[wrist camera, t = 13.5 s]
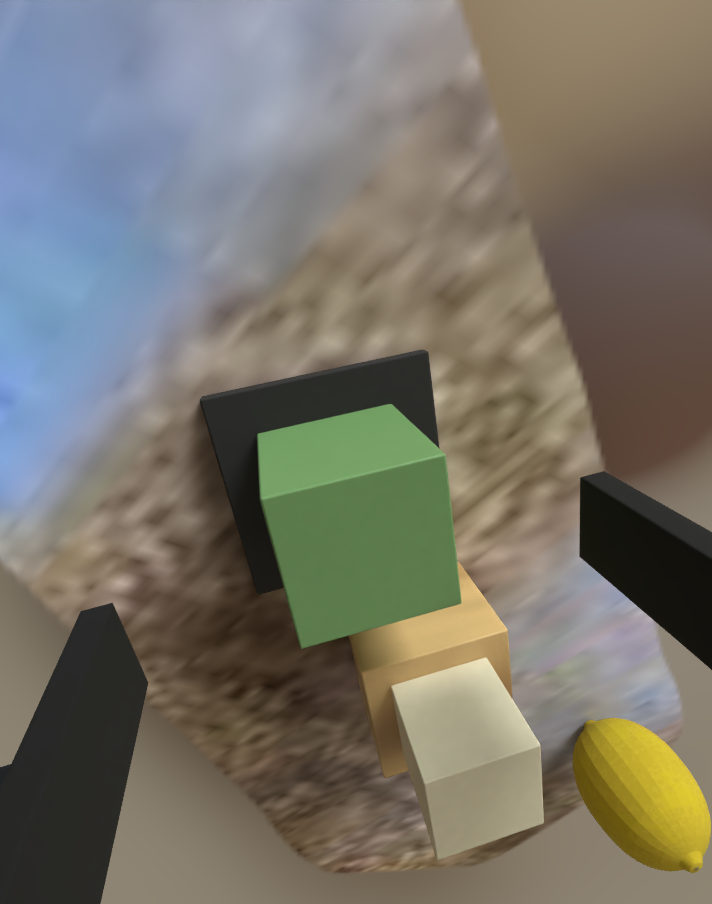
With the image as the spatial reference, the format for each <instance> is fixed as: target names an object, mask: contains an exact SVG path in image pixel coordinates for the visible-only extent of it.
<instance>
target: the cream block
mask: <svg viewBox="0 0 712 904" xmlns="http://www.w3.org/2000/svg"><path fill="white" fill-rule="evenodd" d="M391 691H392V697H393V702H394V707H395V712H396V717H397V723H398V728H399V733H400V738H401V743H402V749H403V754H404V758H405V761H406V764H407V767H408V770H409V774H410V777H411V780H412V783H413V786H414V789H415V792H416V796H417V799H418V802H419V805H420V808H421V811H422V814H423V817H424V821H425V824H426V827H427V830H428V833H429V836H430V839H431V842H432V846H433V849H434V852H435V855H436V858H437V860H440V859H443V858H446V857H449V856H452V855H455V854H457V853H460V852H463V851H466V850H469V849H472V848H475V847H477V846H480V845H483V844H486V843H489V842H492V841H494V840H497V839H500V838H503V837H506V836H509V835H512V834H514V833H517V832H520V831H523V830H526V829H529V828H531V827H534V826H537V825H540V824H543V823H544V816H543V793H542V769H541V746H540V743H539V742H538V740H537V739H536V737H535V735H534V734H533V732H532V730H531V729H530V727H529V726H528V724H527V722H526V721H525V719H524V717H523V716H522V714H521V713H520V711H519V709H518V708H517V706H516V704H515V703H514V701H513V700H512V698H511V696H510V695H509V693H508V691H507V690H506V688H505V687H504V685H503V683H502V682H501V680H500V678H499V677H498V675H497V674H496V672H495V670H494V669H493V667H492V665H491V664H490V662H489V661H488V659H487V658H486V657H485V658H482V659H478V660H475V661H472V662H468V663H465V664H462V665H458V666H455V667H452V668H448V669H445V670H442V671H438V672H435V673H432V674H428V675H425V676H422V677H418V678H415V679H412V680H408V681H405V682H402V683H398V684H395V685H392V686H391Z"/></svg>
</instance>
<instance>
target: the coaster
mask: <svg viewBox="0 0 712 904" xmlns="http://www.w3.org/2000/svg"><path fill="white" fill-rule="evenodd" d="M200 403H201V407H202V410H203V413H204V417H205V420H206V423H207V427H208V430H209V433H210V437H211V440H212V443H213V447H214V450H215V453H216V457H217V460H218V464H219V467H220V470H221V474H222V477H223V480H224V484H225V487H226V490H227V494H228V497H229V500H230V504H231V507H232V510H233V514H234V517H235V520H236V524H237V527H238V530H239V534H240V537H241V540H242V544H243V547H244V550H245V554H246V557H247V560H248V564H249V567H250V570H251V574H252V577H253V580H254V584H255V587H256V591H257V593H258V594H262V593H266V592H270V591H274V590H277V589H281V588H284V587H283V583H282V579H281V576H280V572H279V568H278V565H277V561H276V557H275V554H274V550H273V546H272V543H271V539H270V535H269V532H268V528H267V524H266V521H265V517H264V513H263V510H262V506H261V502H260V491H259V471H258V450H257V434H259V433H263V432H268V431H272V430H277V429H281V428H285V427H290V426H294V425H299V424H303V423H308V422H312V421H316V420H321V419H325V418H330V417H334V416H339V415H343V414H347V413H352V412H356V411H361V410H365V409H370V408H374V407H379V406H383V405H387V404H392V405H393V406H394V407H395V408H396V409H397V410H398V411H399V412H401V413H402V414H403V415H404V416H405V417H406V418H407V419H408V420H409V421H410V422H411V423H412V424H413V425H414V426H416V427H417V428H418V429H419V430H420V431H421V432H422V433H423V434H424V435H425V436H426V437H427V438H428V439H429V440H431V441H432V442H433V443H434V444H435V445H436V446H437V447H438V448H439V442H438V433H437V425H436V416H435V407H434V399H433V390H432V381H431V372H430V364H429V355H428V352H427V351H425V350H418V351H414V352H409V353H404V354H400V355H395V356H390V357H386V358H381V359H376V360H372V361H367V362H362V363H357V364H353V365H348V366H343V367H339V368H334V369H329V370H325V371H320V372H315V373H311V374H306V375H301V376H296V377H292V378H287V379H282V380H278V381H273V382H268V383H264V384H259V385H254V386H249V387H245V388H240V389H235V390H231V391H226V392H221V393H217V394H212V395H207V396H203V397H201V399H200Z"/></svg>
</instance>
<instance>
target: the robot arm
mask: <svg viewBox="0 0 712 904" xmlns="http://www.w3.org/2000/svg"><path fill="white" fill-rule="evenodd" d="M580 557H581V558H582V559H583V560H584V561H585V562H587V563H588V564H589V565H590V566H591V567H592V568H594V569H595V570H596V571H597V572H598V573H599V574H601V575H602V576H603V577H604V578H605V579H606V580H608V581H609V582H610V583H611V584H612V585H613V586H615V587H616V588H617V589H618V590H619V591H620V592H622V593H623V594H624V595H625V596H626V597H627V598H629V599H630V600H631V601H632V602H633V603H634V604H636V605H637V606H638V607H639V608H640V609H641V610H643V611H644V612H645V613H646V614H647V615H648V616H650V617H651V618H652V619H653V620H654V621H655V622H657V623H658V624H659V625H660V626H661V627H663V628H664V629H665V630H666V631H667V632H668V633H670V634H671V635H672V636H673V637H674V638H675V639H677V640H678V641H679V642H680V643H681V644H682V645H684V646H685V647H686V648H687V649H688V650H689V651H690V652H692V653H693V654H694V655H695V656H697V658H699V659H700V660H701V661H702V662H703V663H704V664H706V665H707V666H708V667H709V668H710V669H711V670H712V532H710V531H708V530H707V529H705V528H703V527H702V526H700V525H698V524H696V523H695V522H693V521H691V520H689V519H687V518H686V517H684V516H682V515H680V514H679V513H677V512H675V511H673V510H671V509H670V508H668V507H666V506H665V505H662V504H661V503H659V502H657V501H656V500H654V499H652V498H650V497H648V496H647V495H645V494H643V493H641V492H640V491H638V490H636V489H634V488H633V487H631V486H629V485H627V484H626V483H624V482H622V481H620V480H619V479H617V478H615V477H613V476H611V475H610V474H608V473H606V472H604V471H603V472H600V473H596V474H592V475H588V476H585V477H581V478H580ZM147 686H148V681H147V679H146V677H145V674H144V672H143V670H142V668H141V665H140V663H139V661H138V659H137V657H136V654H135V652H134V650H133V648H132V645H131V643H130V641H129V639H128V636H127V634H126V632H125V630H124V627H123V625H122V623H121V621H120V619H119V616H118V614H117V612H116V610H115V607H114V605H113V603H110V604H107V605H103V606H99V607H95V608H92V609H88V610H84V611H81V612H80V614H79V617H78V619H77V621H76V623H75V625H74V628H73V630H72V632H71V634H70V636H69V639H68V641H67V643H66V645H65V648H64V650H63V652H62V654H61V656H60V658H59V661H58V663H57V665H56V667H55V669H54V672H53V674H52V676H51V679H50V681H49V683H48V685H47V687H46V689H45V691H44V694H43V696H42V698H41V700H40V702H39V705H38V707H37V709H36V711H35V714H34V716H33V718H32V720H31V722H30V724H29V727H28V729H27V731H26V733H25V735H24V738H23V740H22V742H21V744H20V747H19V749H18V751H17V753H16V755H15V757H14V760H13V762H12V764H10V765H7V766H4V767H0V904H100V903H101V898H102V893H103V889H104V885H105V879H106V875H107V871H108V866H109V862H110V857H111V852H112V848H113V843H114V838H115V833H116V829H117V825H118V820H119V815H120V811H121V806H122V801H123V797H124V792H125V788H126V783H127V778H128V773H129V769H130V764H131V760H132V755H133V750H134V746H135V741H136V736H137V732H138V727H139V723H140V718H141V713H142V709H143V704H144V700H145V695H146V690H147Z"/></svg>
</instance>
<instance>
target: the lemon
mask: <svg viewBox="0 0 712 904" xmlns="http://www.w3.org/2000/svg"><path fill="white" fill-rule="evenodd" d="M573 771H574V775H575V780H576V784H577V786H578V789H579V792H580V794H581V796H582V798H583V800H584V802H585V804H586V806H587V807H588V809H589V811H590V812H591V814H592V815H593V817H594V818H595V820H596V821H597V822H598V824H599V825H600V826H601V827H602V829H603V830H604V831H605V832H606V834H608V836H609V837H610V838H611V839H612V840H613V841H614V842H615V843H616V844H617V845H618V846H619V847H620V848H621V849H622V850H623V851H624V852H625V853H627V854H628V855H629V856H631V857H632V858H634V859H635V860H637V861H638V862H640V863H642V864H644V865H647V866H649V867H651V868H655V869H659V870H665V871H678V870H686V871H689V872H691V873H695V872H697V871H699V870H700V869H701V868H702V866H703V863H702V862H703V861H702V857H703V855H704V854H705V852H706V850H707V847H708V845H709V840H710V834H711V821H710V815H709V811H708V807H707V804H706V801H705V799H704V796H703V794H702V792H701V790H700V788H699V786H698V785H697V783H696V781H695V779H694V778H693V776H692V775H691V773H690V772H689V770H688V769H687V767H686V766H685V765H684V763H683V762H682V761H681V760H680V758H679V757H678V756H677V755H676V754H675V753H674V752H673V750H672V749H671V748H670V747H669V746H668V745H667V744H666V743H665V742H664V741H663V740H662V739H660V738H659V737H658V736H657V735H655V734H654V733H653V732H651V731H650V730H648V729H646V728H645V727H643V726H641V725H639V724H637V723H634V722H632V721H629V720H625V719H619V718H608V719H602V720H598V721H593V720H589V721H587V722H586V723H585V724H584V728H583V731H582V733H581V734H580V735H579V737H578V739H577V741H576V744H575V746H574V751H573Z"/></svg>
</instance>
